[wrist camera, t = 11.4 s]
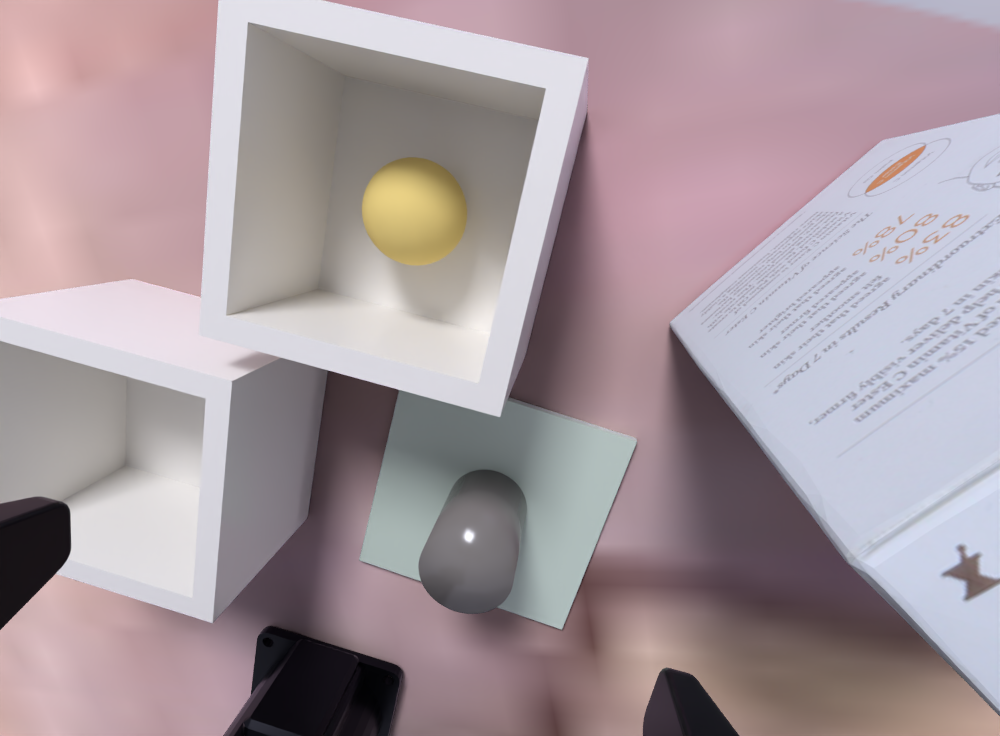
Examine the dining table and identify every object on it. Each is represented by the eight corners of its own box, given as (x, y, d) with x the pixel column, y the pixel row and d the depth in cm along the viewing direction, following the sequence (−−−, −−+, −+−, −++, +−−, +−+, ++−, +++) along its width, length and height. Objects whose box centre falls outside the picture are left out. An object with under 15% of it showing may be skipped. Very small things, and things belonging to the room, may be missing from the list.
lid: (634, 432, 20) (650, 500, 15) (562, 615, 23) (557, 719, 18) (411, 361, 20) (361, 406, 16) (366, 548, 23) (312, 632, 18)
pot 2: (525, 355, 19) (500, 417, 13) (310, 298, 20) (198, 335, 14) (587, 110, 17) (588, 58, 11) (340, 54, 17) (219, -22, 12)
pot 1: (307, 517, 22) (212, 623, 17) (129, 465, 23) (-23, 549, 17) (333, 332, 20) (232, 381, 14) (132, 278, 21) (-42, 305, 15)
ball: (465, 270, 18) (442, 282, 15) (376, 248, 18) (337, 255, 15) (485, 174, 17) (464, 166, 14) (391, 152, 17) (352, 140, 14)
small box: (787, 455, 19) (1181, 932, 6) (663, 322, 18) (830, 563, 6) (1020, 291, 16) (2376, 547, 4) (885, 132, 16) (1989, -155, 3)
